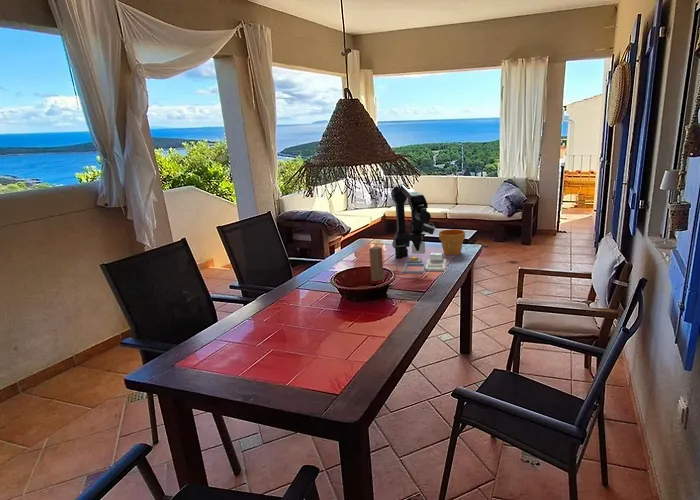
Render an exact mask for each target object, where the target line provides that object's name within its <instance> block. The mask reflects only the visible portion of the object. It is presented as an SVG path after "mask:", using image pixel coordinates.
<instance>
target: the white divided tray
mask: <svg viewBox="0 0 700 500" xmlns="http://www.w3.org/2000/svg"><path fill="white" fill-rule="evenodd" d="M447 262H448V261H447V258H443V262H431V258H428V259H427V261H426V266H425V268H424V271H425V272H445V271H446V266H447Z"/></svg>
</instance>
